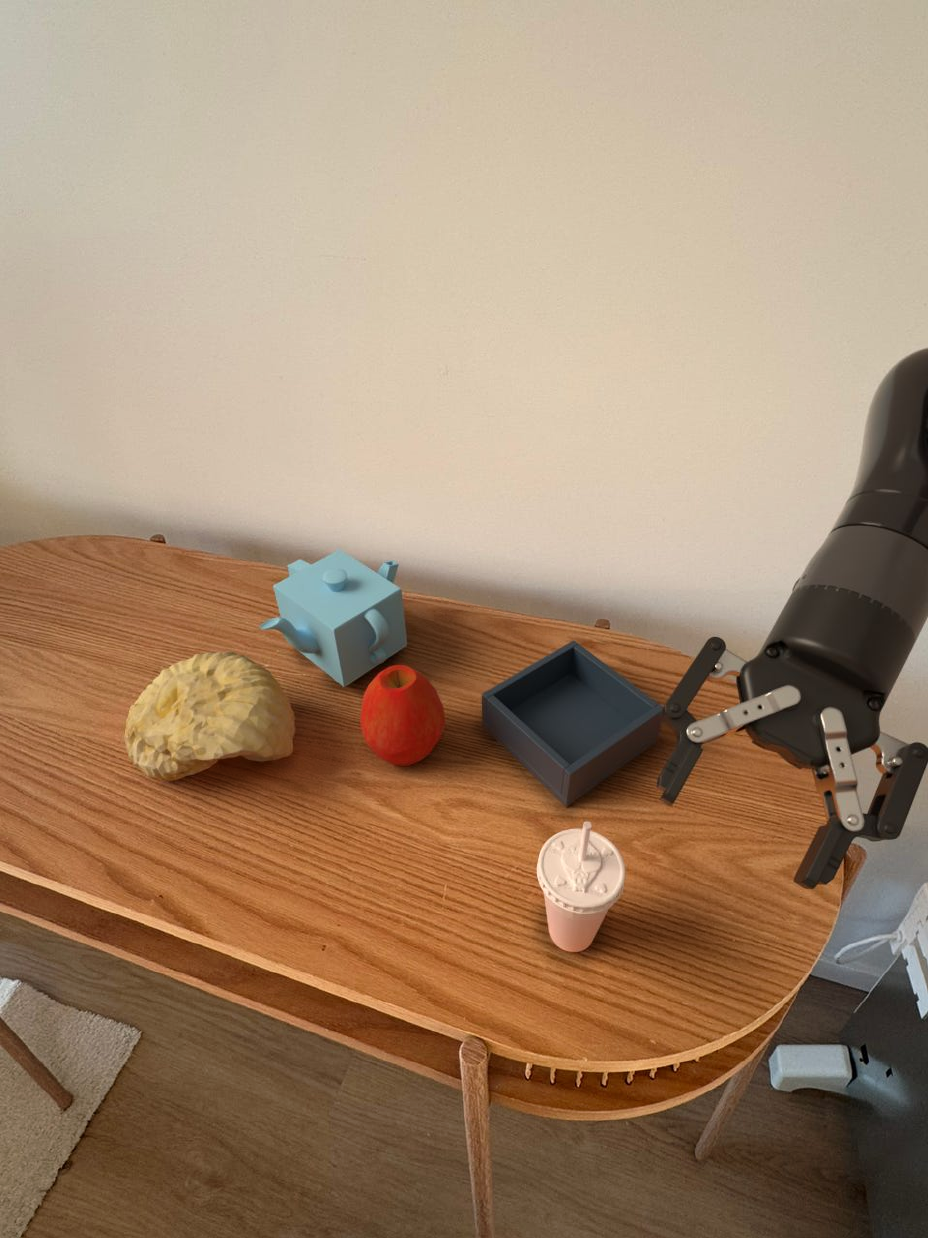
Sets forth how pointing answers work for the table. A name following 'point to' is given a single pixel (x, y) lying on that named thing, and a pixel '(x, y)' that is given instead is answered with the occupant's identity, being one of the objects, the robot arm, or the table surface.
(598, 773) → the bin
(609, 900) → the smoothie
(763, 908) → the table surface
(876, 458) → the robot arm
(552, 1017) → the table surface
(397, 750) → the apple
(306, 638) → the teapot
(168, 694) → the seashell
